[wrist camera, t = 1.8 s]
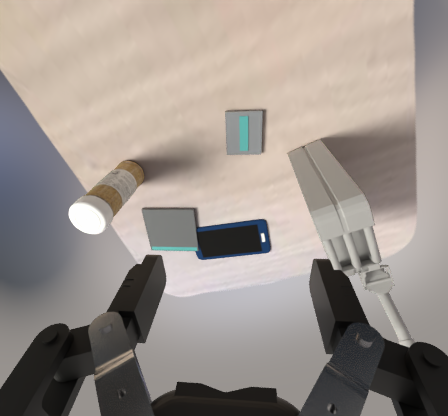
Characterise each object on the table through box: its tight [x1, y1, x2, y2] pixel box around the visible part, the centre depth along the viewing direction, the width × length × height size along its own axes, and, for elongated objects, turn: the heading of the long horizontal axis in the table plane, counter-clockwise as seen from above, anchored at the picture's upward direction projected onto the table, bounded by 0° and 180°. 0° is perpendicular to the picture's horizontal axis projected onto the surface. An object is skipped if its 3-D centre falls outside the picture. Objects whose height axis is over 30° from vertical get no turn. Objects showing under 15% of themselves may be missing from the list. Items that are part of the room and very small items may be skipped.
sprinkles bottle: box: [69, 161, 144, 234], centre depth 36 cm, size 5×5×13 cm
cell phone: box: [195, 219, 270, 260], centre depth 47 cm, size 7×14×1 cm, turn 102°
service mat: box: [142, 208, 199, 251], centre depth 46 cm, size 9×9×1 cm
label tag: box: [225, 110, 263, 155], centre depth 36 cm, size 6×5×1 cm
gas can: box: [287, 139, 415, 348], centre depth 30 cm, size 15×5×25 cm, turn 27°
